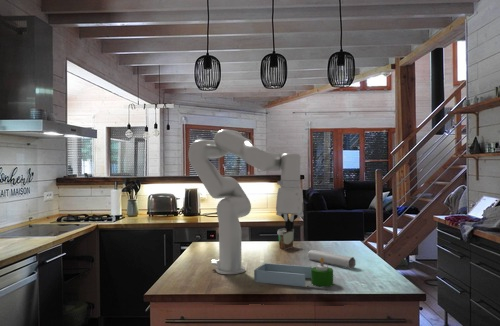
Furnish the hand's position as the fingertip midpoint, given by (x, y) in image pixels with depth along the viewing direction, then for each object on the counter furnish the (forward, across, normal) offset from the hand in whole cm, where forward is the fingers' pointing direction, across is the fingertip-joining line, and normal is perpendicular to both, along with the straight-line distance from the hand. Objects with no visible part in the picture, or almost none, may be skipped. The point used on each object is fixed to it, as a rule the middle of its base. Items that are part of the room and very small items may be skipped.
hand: (289, 231), depth 164 cm
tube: (+20, +11, +32) cm, 39 cm away
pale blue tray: (+20, -2, 0) cm, 20 cm away
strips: (+19, +12, 0) cm, 23 cm away
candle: (+19, +13, 0) cm, 23 cm away
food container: (+21, -18, +60) cm, 65 cm away
